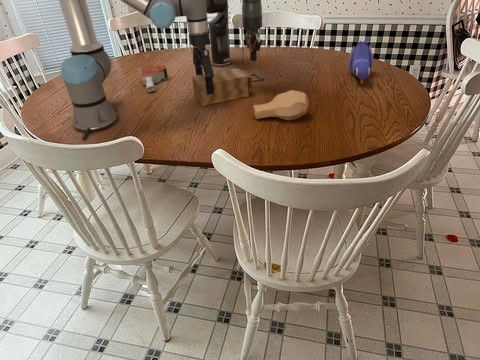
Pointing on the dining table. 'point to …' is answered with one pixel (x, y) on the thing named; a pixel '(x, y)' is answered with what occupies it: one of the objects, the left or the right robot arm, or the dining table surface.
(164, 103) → the dining table surface
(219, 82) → the brown wooden block
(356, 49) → the toy
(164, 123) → the dining table surface
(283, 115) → the squash
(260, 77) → the drawer
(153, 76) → the tape dispenser
